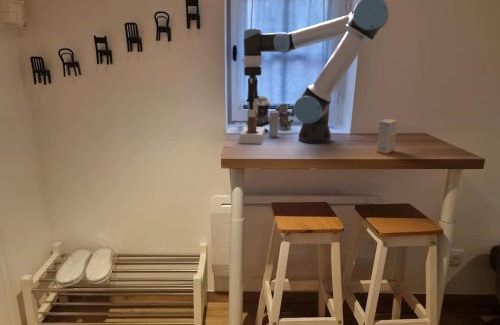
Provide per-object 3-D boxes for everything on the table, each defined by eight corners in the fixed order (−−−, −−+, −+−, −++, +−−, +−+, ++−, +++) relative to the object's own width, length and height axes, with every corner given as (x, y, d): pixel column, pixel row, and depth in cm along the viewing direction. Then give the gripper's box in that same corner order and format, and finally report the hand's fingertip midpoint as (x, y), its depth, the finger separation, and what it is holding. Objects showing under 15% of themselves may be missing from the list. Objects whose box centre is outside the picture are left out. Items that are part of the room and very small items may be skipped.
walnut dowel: (256, 140, 172) (256, 110, 168) (255, 142, 168) (256, 111, 164) (247, 139, 172) (248, 109, 168) (246, 141, 168) (247, 111, 165)
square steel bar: (277, 135, 182) (278, 111, 179) (277, 137, 178) (278, 112, 175) (269, 135, 183) (270, 111, 179) (269, 137, 179) (269, 112, 176)
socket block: (264, 134, 184) (265, 126, 183) (261, 143, 165) (261, 134, 164) (245, 134, 185) (245, 126, 184) (239, 142, 166) (239, 134, 165)
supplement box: (383, 149, 157) (386, 118, 154) (394, 150, 154) (398, 119, 151) (375, 152, 151) (379, 120, 148) (387, 154, 148) (391, 122, 145)
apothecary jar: (259, 128, 202) (260, 94, 197) (274, 131, 193) (275, 96, 188) (242, 130, 195) (242, 96, 190) (257, 134, 186) (258, 98, 181)
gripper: (247, 66, 173) (248, 111, 179) (240, 66, 149) (241, 118, 155) (263, 65, 173) (263, 111, 178) (258, 66, 149) (258, 118, 154)
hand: (253, 114), depth 167 cm, fingers open, 13 cm apart
